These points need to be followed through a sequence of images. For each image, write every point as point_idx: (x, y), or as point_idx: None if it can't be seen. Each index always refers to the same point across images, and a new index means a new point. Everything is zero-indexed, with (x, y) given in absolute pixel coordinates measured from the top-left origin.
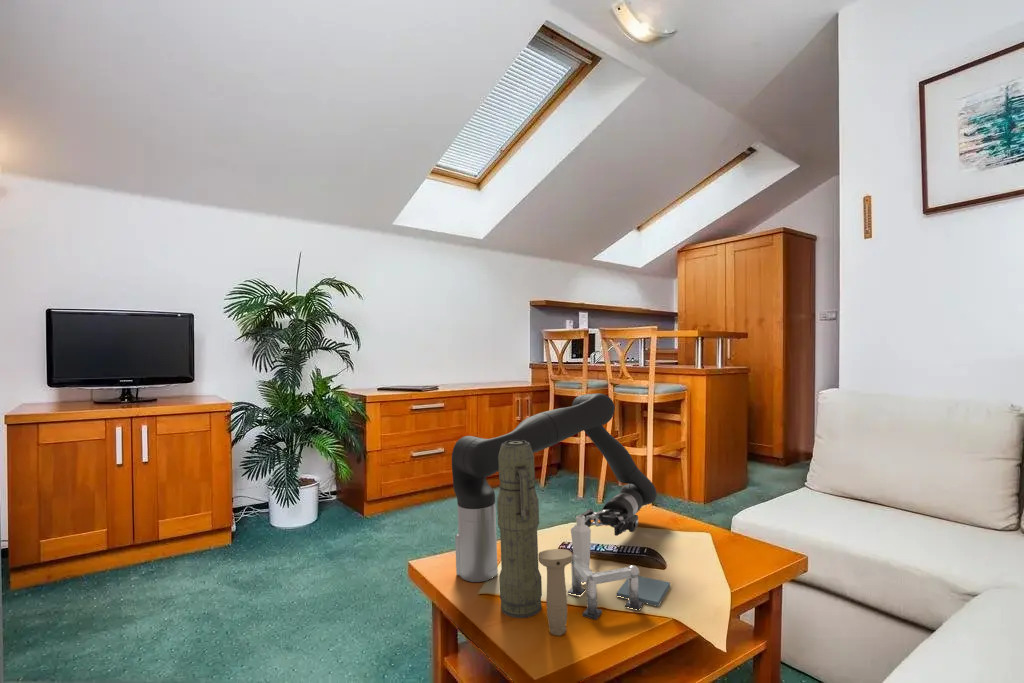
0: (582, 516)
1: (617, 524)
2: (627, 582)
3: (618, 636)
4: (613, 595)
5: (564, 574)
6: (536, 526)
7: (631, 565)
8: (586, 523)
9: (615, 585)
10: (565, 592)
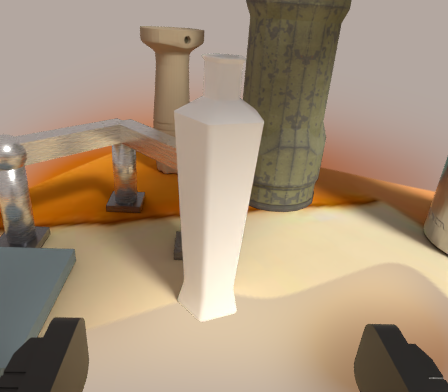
0: (221, 61)
1: (51, 373)
2: (33, 304)
3: (64, 179)
4: (86, 266)
5: (156, 68)
6: (246, 1)
7: (6, 136)
8: (378, 363)
9: (85, 313)
10: (154, 100)
